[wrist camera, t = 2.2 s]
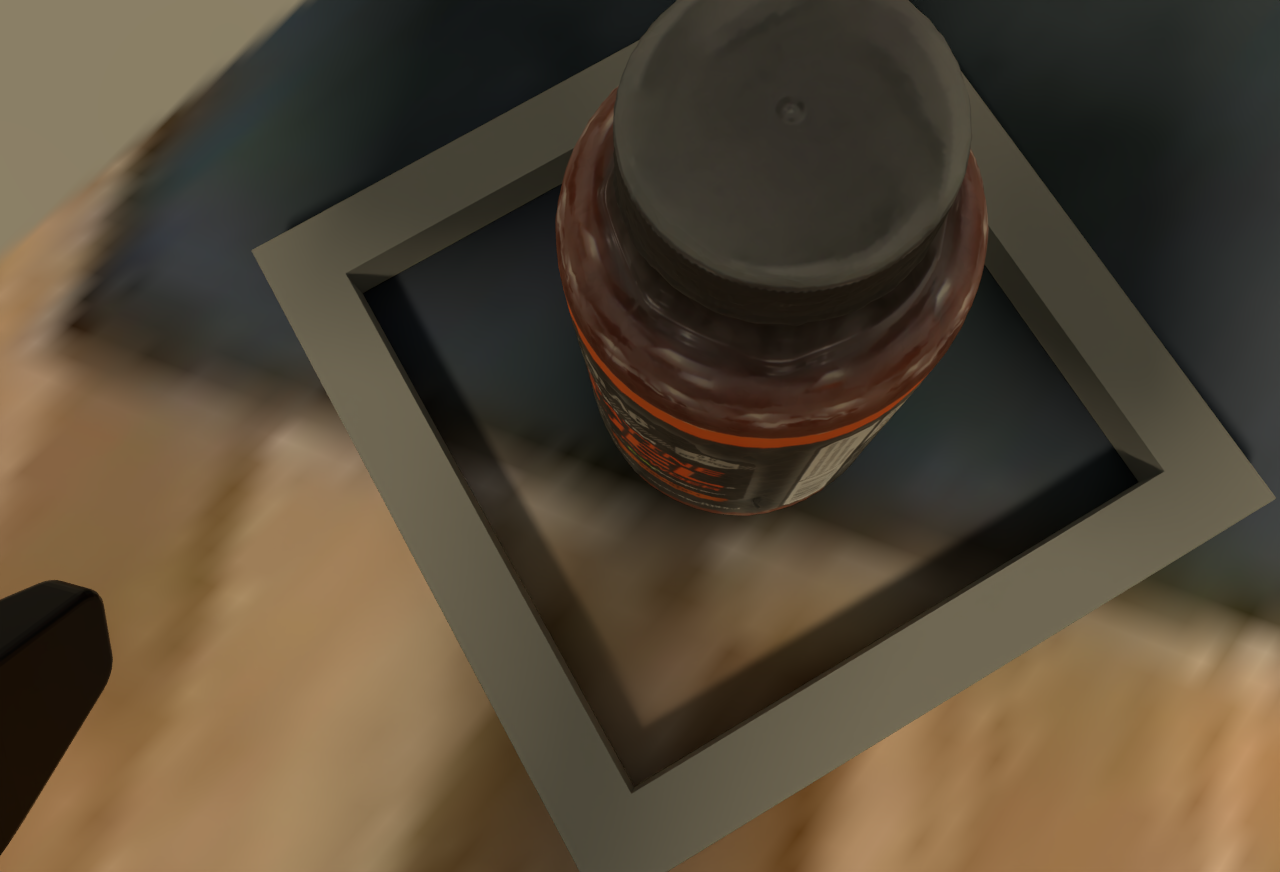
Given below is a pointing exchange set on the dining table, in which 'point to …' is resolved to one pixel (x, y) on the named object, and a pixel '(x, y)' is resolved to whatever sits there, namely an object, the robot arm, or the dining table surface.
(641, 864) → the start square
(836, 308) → the supplement bottle
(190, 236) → the dining table surface
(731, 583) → the dining table surface
